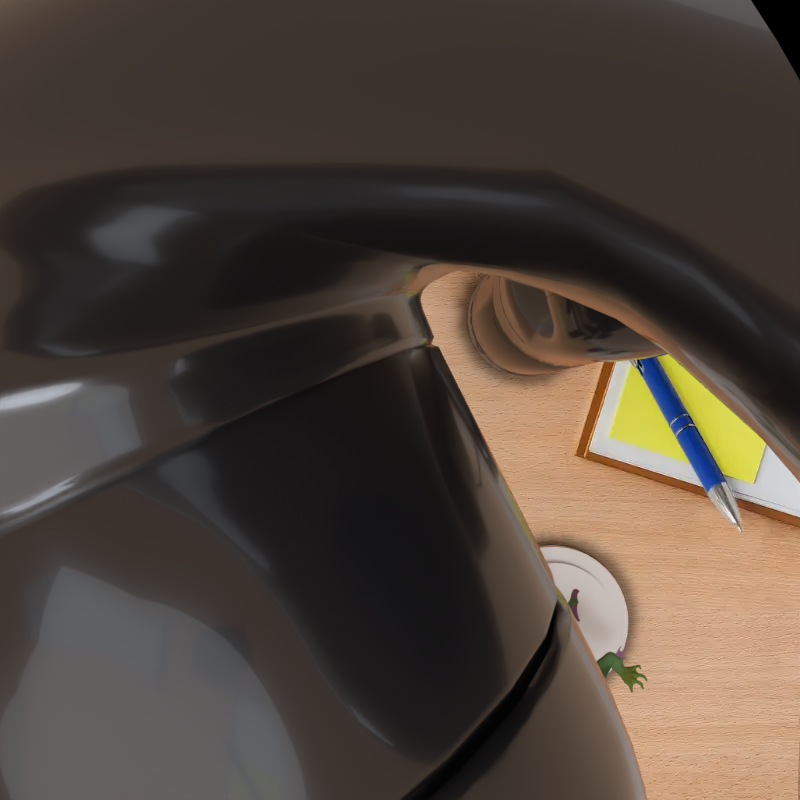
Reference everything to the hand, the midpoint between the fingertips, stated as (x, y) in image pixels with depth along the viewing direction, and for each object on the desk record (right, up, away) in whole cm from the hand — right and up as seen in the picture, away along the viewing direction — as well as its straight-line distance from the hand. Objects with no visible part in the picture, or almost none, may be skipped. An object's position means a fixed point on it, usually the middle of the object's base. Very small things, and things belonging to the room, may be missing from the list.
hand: (345, 447), depth 40 cm
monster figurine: (+15, -15, +22) cm, 31 cm away
